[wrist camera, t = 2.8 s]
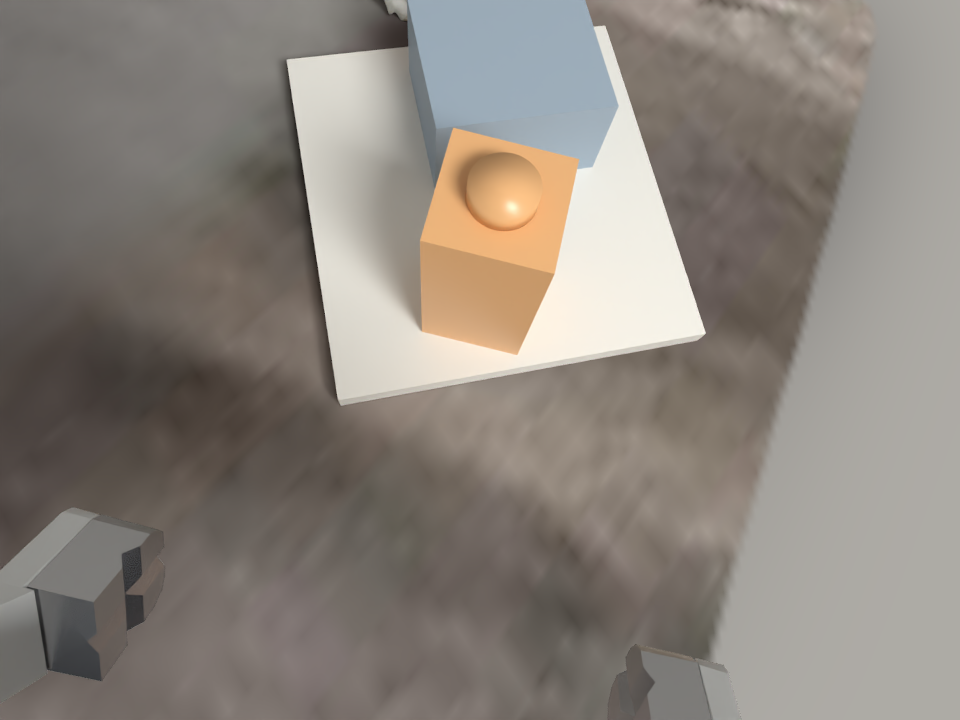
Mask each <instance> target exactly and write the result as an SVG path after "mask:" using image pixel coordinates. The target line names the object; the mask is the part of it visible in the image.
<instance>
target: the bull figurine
mask: <svg viewBox="0 0 960 720" xmlns="http://www.w3.org/2000/svg"><path fill="white" fill-rule="evenodd" d="M384 1H385V4H386V6H387V10H388V12H389V14H390V15H391V14H392V13H394V12H395V13H396V14H397V15H398V16H399V18H400V20H403V21H408V20H407V1H406V0H384Z"/></svg>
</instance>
